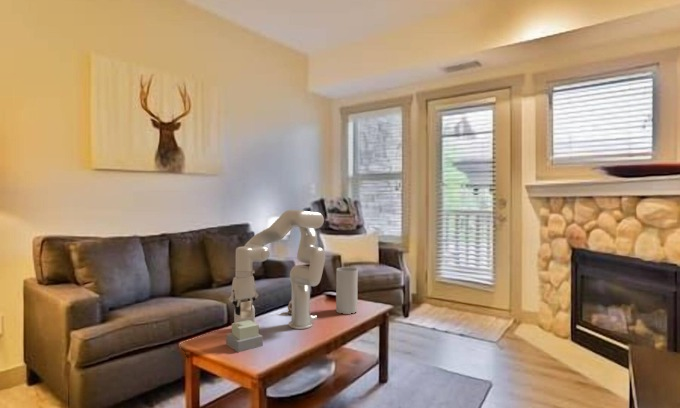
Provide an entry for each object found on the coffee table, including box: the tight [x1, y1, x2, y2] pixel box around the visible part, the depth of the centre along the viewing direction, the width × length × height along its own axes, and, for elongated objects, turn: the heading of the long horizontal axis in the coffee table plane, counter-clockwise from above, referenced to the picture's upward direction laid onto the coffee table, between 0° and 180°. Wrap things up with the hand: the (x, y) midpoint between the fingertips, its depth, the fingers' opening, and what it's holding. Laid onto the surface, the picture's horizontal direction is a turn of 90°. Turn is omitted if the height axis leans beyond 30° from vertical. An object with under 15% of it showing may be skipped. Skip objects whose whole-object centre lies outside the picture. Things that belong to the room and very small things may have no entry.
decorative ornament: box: [287, 299, 292, 315], centre depth 240 cm, size 8×8×15 cm
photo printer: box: [233, 304, 256, 323], centre depth 213 cm, size 10×4×12 cm, turn 104°
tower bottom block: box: [225, 332, 264, 353], centre depth 190 cm, size 12×12×5 cm
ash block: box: [236, 299, 251, 319], centre depth 190 cm, size 5×5×7 cm
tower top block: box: [231, 320, 260, 340], centre depth 190 cm, size 9×9×5 cm
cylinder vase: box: [335, 266, 359, 315], centre depth 245 cm, size 12×12×25 cm
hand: (243, 313), depth 190 cm, fingers closed on ash block, 5 cm apart
